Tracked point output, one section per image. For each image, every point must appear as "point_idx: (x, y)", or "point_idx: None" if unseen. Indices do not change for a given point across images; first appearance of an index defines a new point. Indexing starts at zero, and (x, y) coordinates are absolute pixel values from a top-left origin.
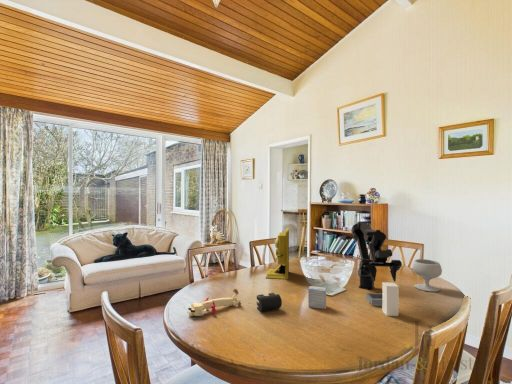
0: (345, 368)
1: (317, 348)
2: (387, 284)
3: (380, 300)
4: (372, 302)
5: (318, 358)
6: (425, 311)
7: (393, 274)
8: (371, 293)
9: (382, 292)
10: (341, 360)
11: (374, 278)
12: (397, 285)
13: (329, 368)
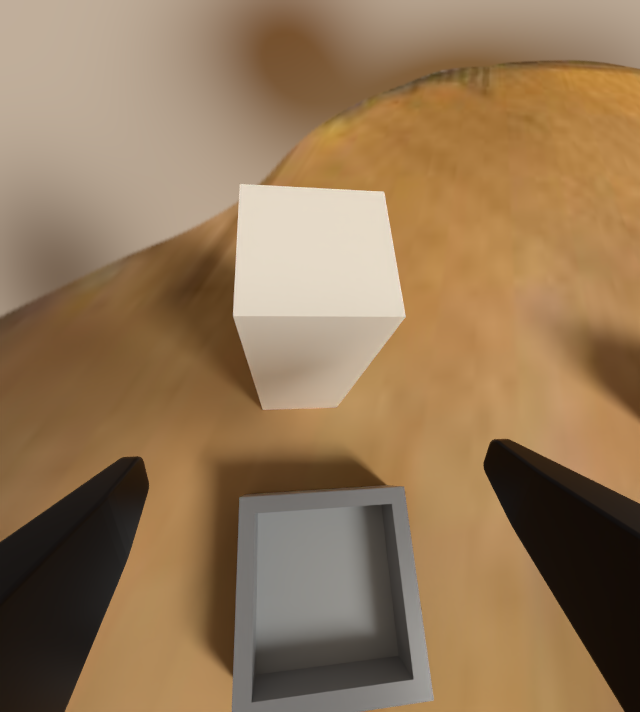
0: (518, 66)
1: (596, 124)
2: (359, 238)
3: (333, 490)
4: (392, 486)
5: (582, 94)
6: (20, 432)
7: (36, 599)
8: (378, 690)
9: (366, 366)
10: (529, 86)
11: (522, 448)
12: (239, 208)
13: (551, 68)
